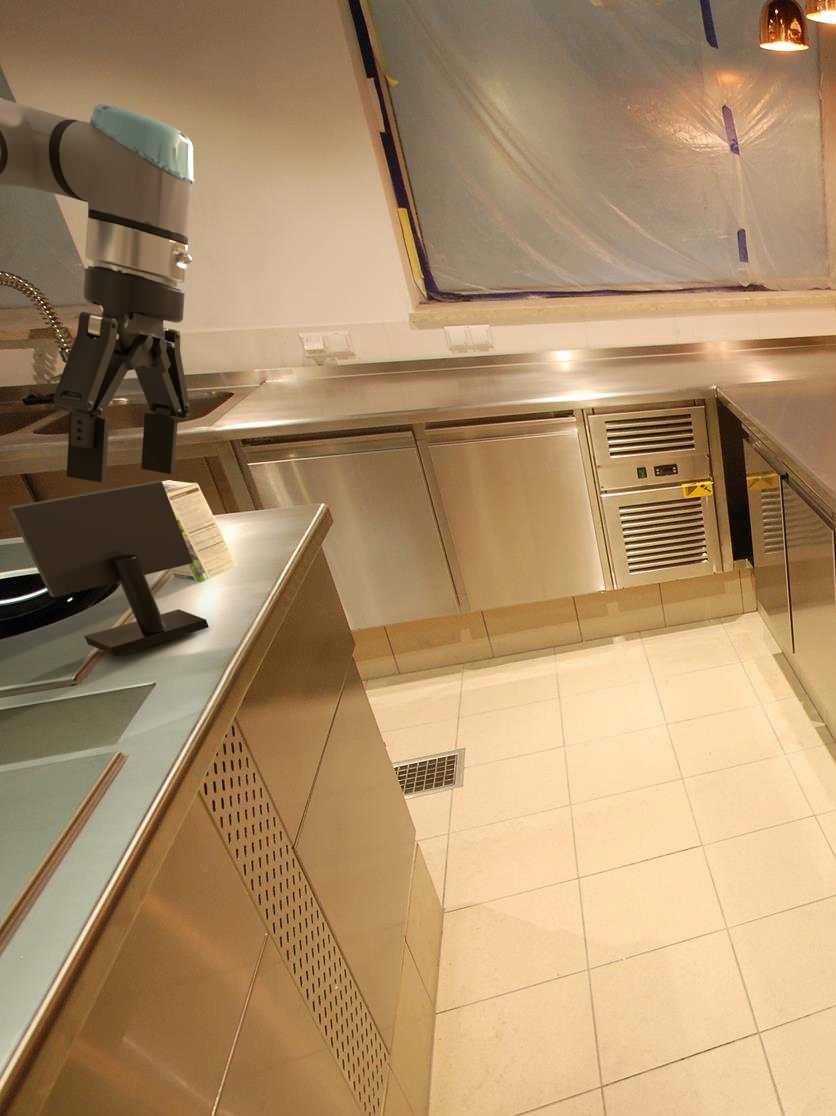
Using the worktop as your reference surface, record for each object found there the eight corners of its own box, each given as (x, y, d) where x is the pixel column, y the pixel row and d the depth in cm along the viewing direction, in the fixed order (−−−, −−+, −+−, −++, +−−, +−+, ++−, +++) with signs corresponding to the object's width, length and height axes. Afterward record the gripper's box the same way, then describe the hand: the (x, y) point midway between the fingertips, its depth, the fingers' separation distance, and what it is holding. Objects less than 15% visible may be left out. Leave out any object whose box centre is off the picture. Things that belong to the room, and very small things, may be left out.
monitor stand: (114, 656, 104) (76, 571, 99) (87, 644, 107) (49, 561, 102) (209, 627, 112) (178, 548, 107) (182, 617, 115) (150, 539, 110)
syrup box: (175, 583, 126) (125, 492, 118) (213, 566, 131) (167, 477, 123) (205, 587, 125) (156, 495, 117) (242, 570, 130) (198, 481, 122)
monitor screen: (54, 597, 100) (12, 508, 95) (49, 595, 100) (7, 506, 96) (193, 563, 111) (162, 481, 107) (188, 561, 112) (157, 480, 107)
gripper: (113, 267, 78) (100, 491, 81) (234, 301, 101) (220, 475, 104) (5, 240, 75) (-3, 474, 79) (155, 281, 98) (143, 461, 101)
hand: (124, 475), depth 91 cm, fingers open, 13 cm apart
